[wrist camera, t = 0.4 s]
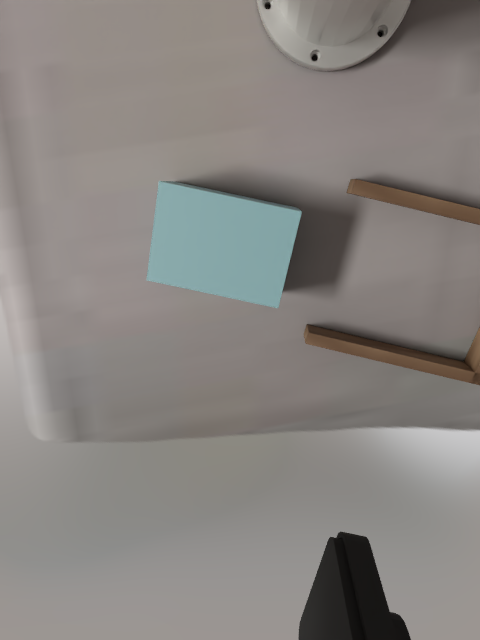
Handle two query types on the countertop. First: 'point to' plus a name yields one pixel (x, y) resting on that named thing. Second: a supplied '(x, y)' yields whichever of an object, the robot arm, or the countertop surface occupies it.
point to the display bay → (473, 369)
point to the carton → (221, 243)
